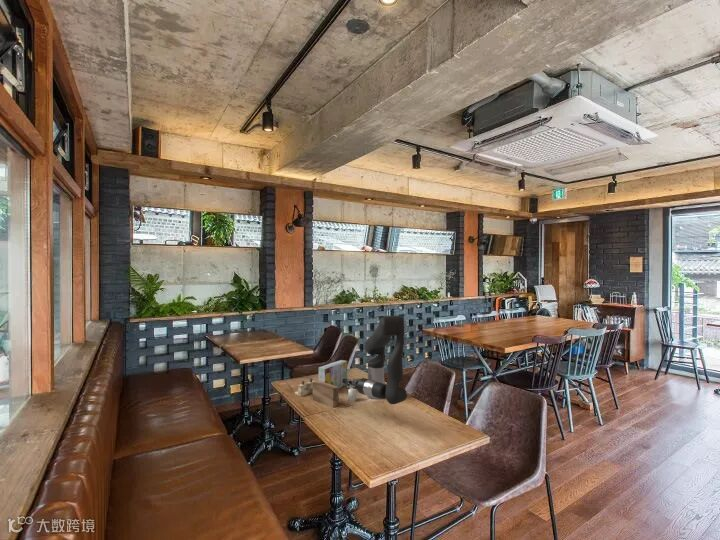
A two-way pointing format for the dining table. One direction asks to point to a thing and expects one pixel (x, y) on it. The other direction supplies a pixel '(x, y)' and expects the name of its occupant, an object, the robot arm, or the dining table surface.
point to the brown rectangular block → (325, 393)
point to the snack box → (334, 373)
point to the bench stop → (305, 388)
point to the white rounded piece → (352, 394)
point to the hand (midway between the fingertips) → (343, 380)
